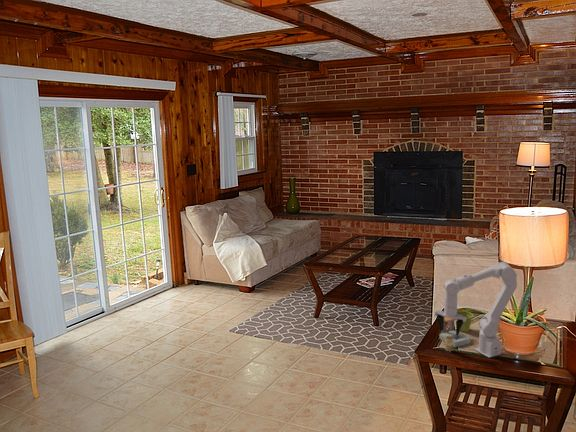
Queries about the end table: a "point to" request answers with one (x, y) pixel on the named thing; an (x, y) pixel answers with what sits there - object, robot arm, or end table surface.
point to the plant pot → (465, 324)
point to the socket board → (461, 338)
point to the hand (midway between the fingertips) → (449, 332)
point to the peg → (449, 343)
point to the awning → (451, 325)
